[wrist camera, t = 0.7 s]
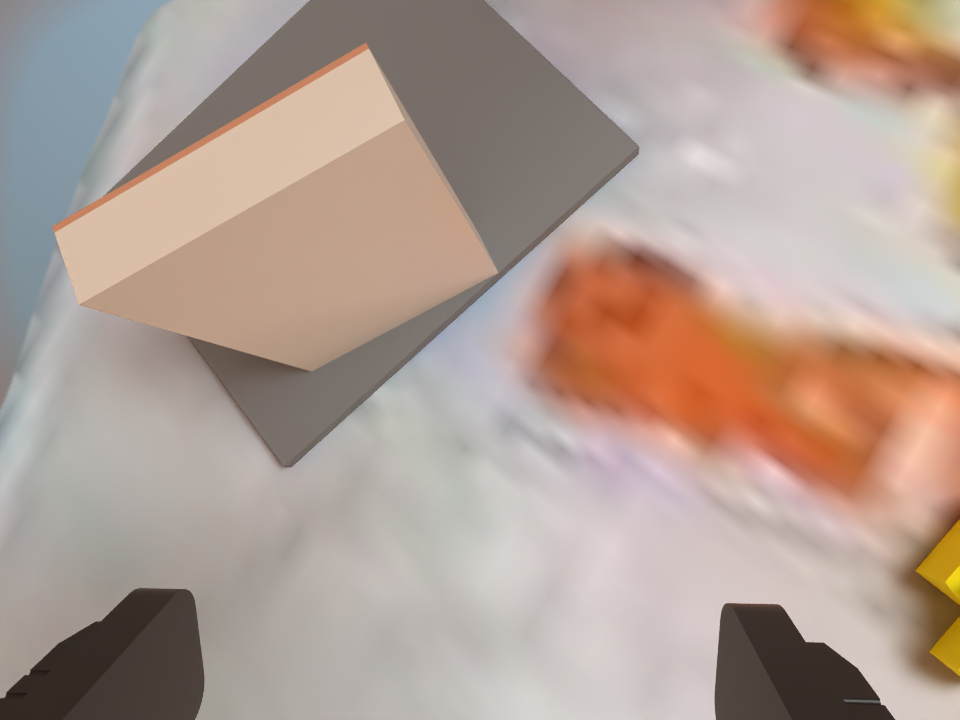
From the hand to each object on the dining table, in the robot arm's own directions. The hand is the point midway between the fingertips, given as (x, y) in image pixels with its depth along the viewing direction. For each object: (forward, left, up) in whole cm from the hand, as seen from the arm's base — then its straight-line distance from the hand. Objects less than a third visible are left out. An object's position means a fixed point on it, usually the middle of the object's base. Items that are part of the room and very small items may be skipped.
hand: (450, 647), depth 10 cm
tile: (-1, -13, -19) cm, 22 cm away
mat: (-3, -19, -19) cm, 27 cm away
